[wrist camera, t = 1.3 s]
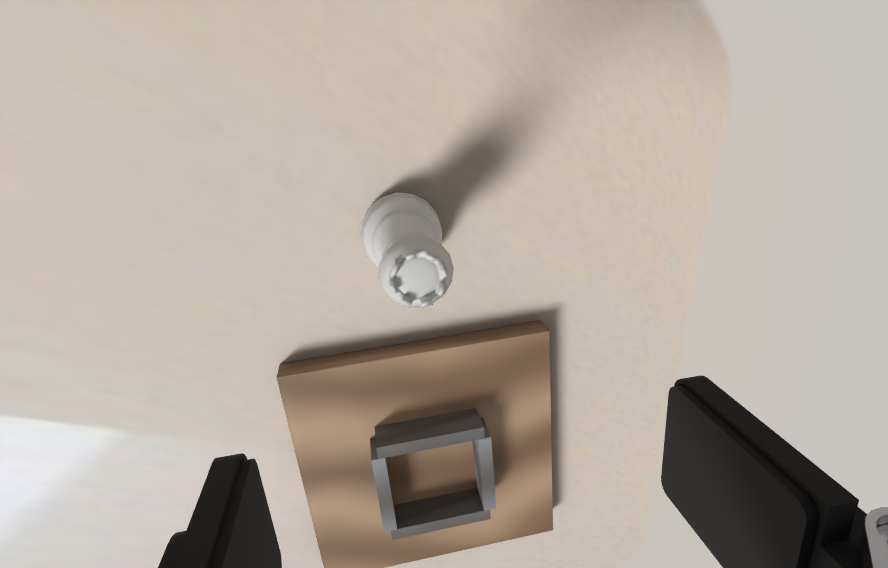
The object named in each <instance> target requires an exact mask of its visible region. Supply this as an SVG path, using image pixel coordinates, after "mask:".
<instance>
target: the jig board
mask: <svg viewBox="0 0 888 568" xmlns="http://www.w3.org/2000/svg"><path fill="white" fill-rule="evenodd" d="M277 381H278V385H279V389H280V393H281V397H282V401H283V405H284V409H285V413H286V417H287V421H288V425H289V429H290V433H291V437H292V441H293V445H294V449H295V453H296V457H297V461H298V465H299V469H300V473H301V477H302V481H303V485H304V489H305V493H306V497H307V501H308V505H309V509H310V513H311V517H312V521H313V525H314V529H315V533H316V537H317V541H318V545H319V549H320V553H321V557H322V561H323V565H324V568H384V567H389V566H393V565H398V564H402V563H407V562H411V561H416V560H420V559H425V558H429V557H434V556H439V555H443V554H448V553H452V552H457V551H461V550H466V549H470V548H475V547H479V546H484V545H488V544H493V543H497V542H502V541H506V540H511V539H515V538H520V537H524V536H529V535H533V534H538V533H542V532H547V531H551V530H553V505H552V448H551V392H550V335H549V330H548V329H547V328H546V327H545V325H544V324H543V323H542V322H541V321H536V322H530V323H524V324H518V325H512V326H506V327H500V328H494V329H488V330H482V331H476V332H470V333H464V334H458V335H452V336H446V337H440V338H434V339H428V340H422V341H416V342H410V343H404V344H398V345H392V346H386V347H380V348H374V349H368V350H362V351H356V352H350V353H344V354H338V355H332V356H326V357H320V358H314V359H308V360H302V361H296V362H290V363H284V364H280V366H279V370H278V374H277Z"/></svg>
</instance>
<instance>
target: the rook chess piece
mask: <svg viewBox="0 0 888 568" xmlns="http://www.w3.org/2000/svg"><path fill="white" fill-rule="evenodd" d="M442 234H443V231H442V228H441V225H440V221H439V218H438V215H437V213H436V211H435V210H434V209H433V208H432V207H431V205H430V204H429V203H428V202H427V201H426V200H424V199H422V198H420V197H418V196H416V195H414V194H410V193H397V192H396V193H393V194H390V195H387V196H384V197H381V198H380V199H378V200H377V201H376V202H375V203H374V204H373V205H371V206H370V207H369V208H368V210H367V212H366V214H365V216H364V218H363V220H362V222H361V233H360V239H361V242H362V244H363V247H364V250H365V253H366V255H367V257H368V258H369V259H370V260H371V261H372V262H373V264H374V265H375V266H376V267H377V268H379V272H378V279H379V282H380V285H381V288H382V290H383V292H384V293H385V294H386V295H387V296H388V297H389V298H390V299H391V300H392V301H393V302H395V303H397V304H400V305H402V306H404V307H409V308H411V307H422V308H425V307H428V306H431V305H433V303H434V302H435V301H436V300H438V299H439V298H440V297H443V295H444V294H445V292H446V291H447V289H448V287H449V285H450V284H451V282H452V275H453V265H452V261H451V258H450V254H449V253H448V252H447V251H446V250H445V249H444V247H443V246H442V245H441V242H442Z"/></svg>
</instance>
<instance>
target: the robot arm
mask: <svg viewBox="0 0 888 568" xmlns="http://www.w3.org/2000/svg"><path fill="white" fill-rule="evenodd" d="M661 482H662V486H663V489H664V491H665V493H666V495H667V496H668V497H669V499H670V500H671V501H672V503H673V504H674V505H675V507H676V508H677V509H678V510H679V512H680V513H681V514H682V515H683V517H684V518H685V519H686V521H687V522H688V523H689V524H690V525H691V527H692V528H693V529H694V531H695V532H696V533H697V535H698V536H699V537H700V539H701V540H702V541H703V542H704V544H705V545H706V546H707V548H708V549H709V550H710V551H711V553H712V554H713V555H714V557H715V558H716V559H717V560H718V562H719V563H720V564H721V566H722V567H723V568H888V507H883V508H882V507H881V508H878V509H875V510H871V512H870V513H869V514H868V515H867V514H866V513H865V512H864V511H862V510H861V509H860V508H859V507H857V506H858V502H859V500H858V499H857V498H856V497H854V496H853V495H852V494H851V493H849V492H848V491H847V490H846V489H845V488H843V487H842V486H841V485H840V484H838V483H837V482H836V481H835V480H833V479H832V478H831V477H830V476H828V475H827V474H826V473H825V472H824V471H822V470H821V469H820V468H819V467H817V466H816V465H815V464H814V463H812V462H811V461H810V460H809V459H807V458H806V457H805V456H804V455H802V454H801V453H800V452H799V451H797V450H796V449H795V448H794V447H792V446H791V445H790V444H789V443H788V442H786V441H785V440H784V439H782V438H781V437H780V436H779V435H777V434H776V433H775V432H774V431H773V430H771V429H770V428H769V427H768V426H766V425H765V424H764V423H763V422H761V421H760V420H759V419H758V418H756V417H755V416H754V415H753V414H751V413H750V412H749V411H747V410H746V409H745V408H744V407H743V406H742V405H740V404H739V403H738V402H737V401H735V400H734V399H733V398H731V397H730V396H729V395H728V394H727V393H725V392H724V391H723V390H722V389H720V388H719V387H718V386H717V385H715V384H714V383H713V382H712V381H711V380H709V379H708V378H706V377H705V376H695V377H690V378H684V379H679V380H677V381H676V383H675V385H674V387H671V388H670V390H669V396H668V407H667V418H666V430H665V441H664V452H663V464H662V475H661ZM158 568H282V563H281V553H280V549H279V545H278V542H277V538H276V534H275V530H274V526H273V523H272V519H271V515H270V511H269V507H268V504H267V500H266V496H265V492H264V488H263V485H262V481H261V477H260V473H259V470H258V466H257V463H256V460H255V459H249V460H247V457H246V456H245V454H243V453H242V454H236V455H230V456H225V457H219V458H215V459H214V461H213V462H212V465H211V468H210V470H209V473H208V475H207V478H206V481H205V483H204V486H203V489H202V491H201V494H200V497H199V499H198V502H197V505H196V507H195V510H194V512H193V515H192V518H191V520H190V523H189V526H188V528H187V531H183V532H178V533H175V534H174V535H173V536H172V537H171V539H170V541H169V543H168V545H167V547H166V550H165V552H164V555H163V557H162V560H161V562H160V564H159V567H158Z"/></svg>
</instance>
